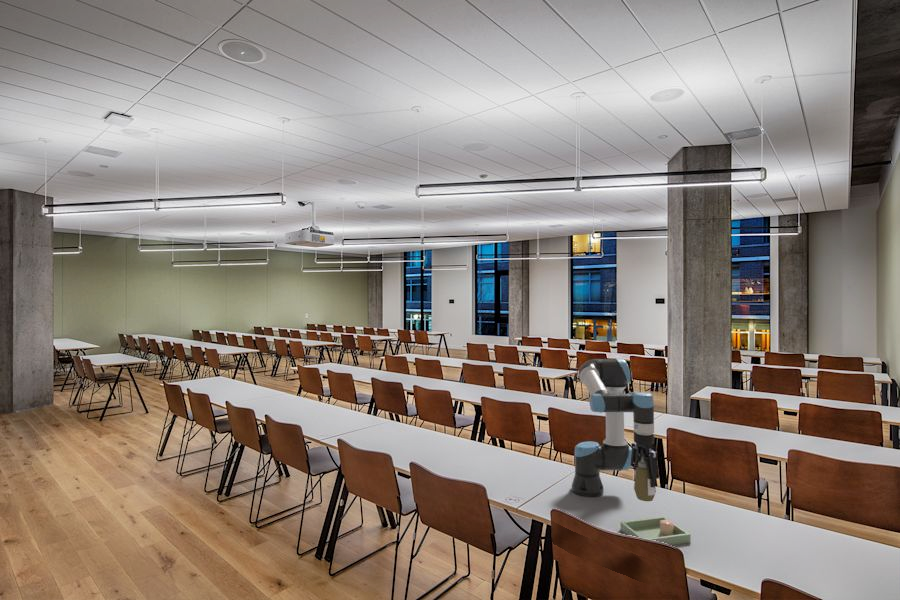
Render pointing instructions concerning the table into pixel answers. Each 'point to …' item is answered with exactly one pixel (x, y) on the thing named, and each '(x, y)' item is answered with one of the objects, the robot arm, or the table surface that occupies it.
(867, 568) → the table surface
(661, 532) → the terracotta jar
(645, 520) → the tray
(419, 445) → the table surface
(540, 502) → the table surface
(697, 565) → the table surface
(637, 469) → the squeeze bottle
